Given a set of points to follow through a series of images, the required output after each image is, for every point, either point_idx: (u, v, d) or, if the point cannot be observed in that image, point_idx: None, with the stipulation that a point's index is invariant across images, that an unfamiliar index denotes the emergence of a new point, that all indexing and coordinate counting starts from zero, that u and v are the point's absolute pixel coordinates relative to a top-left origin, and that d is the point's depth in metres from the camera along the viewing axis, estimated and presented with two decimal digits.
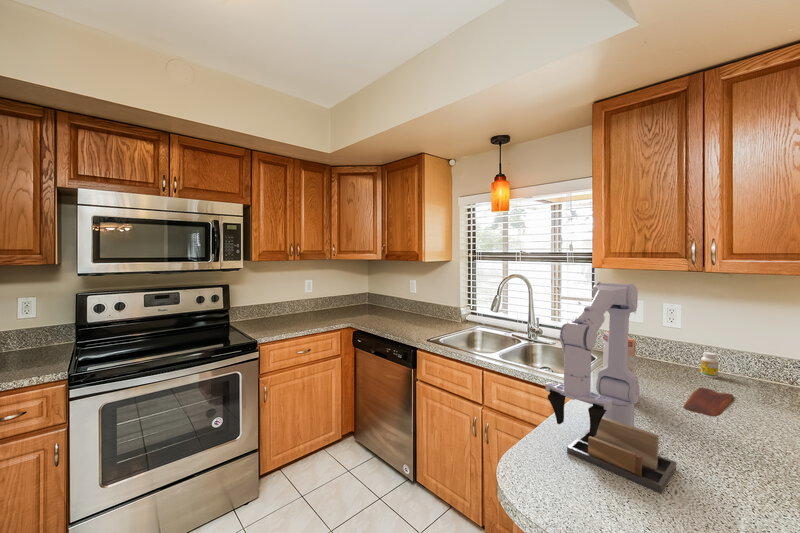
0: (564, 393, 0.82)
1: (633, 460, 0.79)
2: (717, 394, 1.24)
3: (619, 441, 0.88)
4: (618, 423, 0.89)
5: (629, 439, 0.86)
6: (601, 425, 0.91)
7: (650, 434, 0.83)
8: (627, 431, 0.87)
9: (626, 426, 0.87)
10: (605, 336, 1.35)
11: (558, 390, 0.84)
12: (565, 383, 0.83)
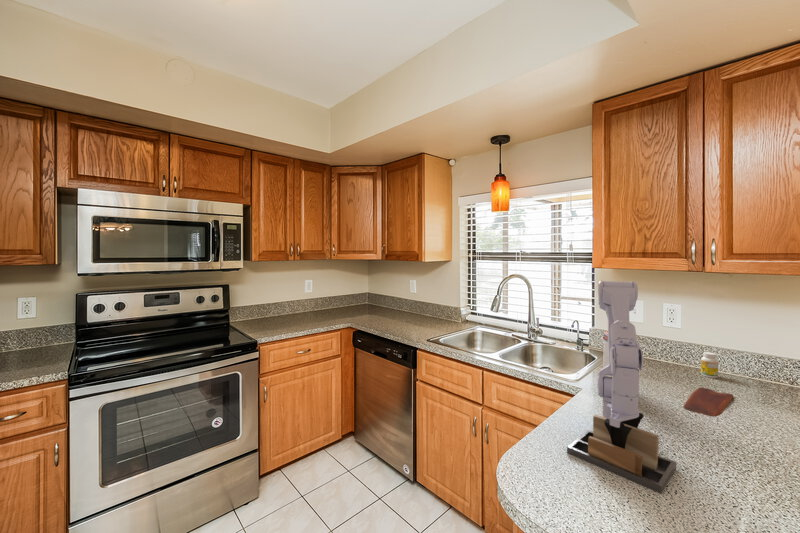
0: None
1: (633, 460, 0.79)
2: (717, 394, 1.24)
3: None
4: None
5: (629, 439, 0.86)
6: (601, 425, 0.91)
7: (650, 434, 0.83)
8: None
9: None
10: (605, 336, 1.35)
11: None
12: None
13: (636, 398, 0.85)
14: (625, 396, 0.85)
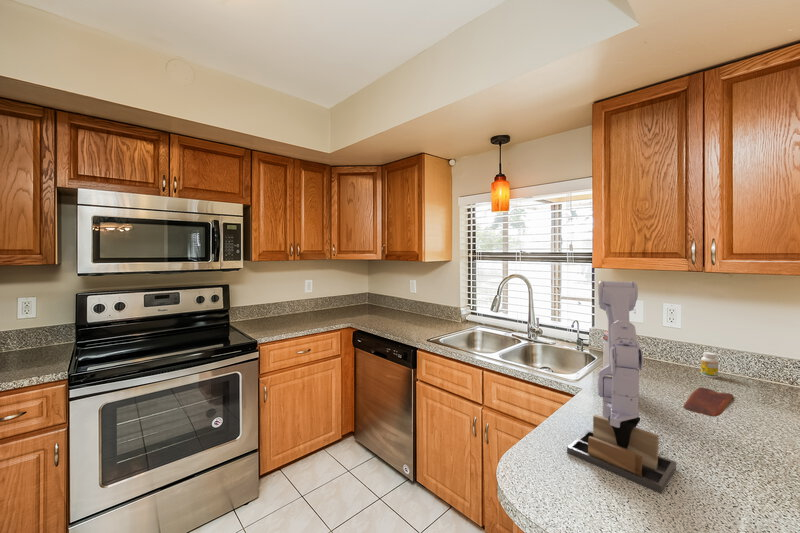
0: None
1: (633, 460, 0.79)
2: (717, 394, 1.24)
3: None
4: None
5: None
6: (601, 425, 0.91)
7: (650, 434, 0.83)
8: None
9: None
10: (605, 336, 1.35)
11: None
12: None
13: (636, 398, 0.85)
14: (625, 396, 0.85)
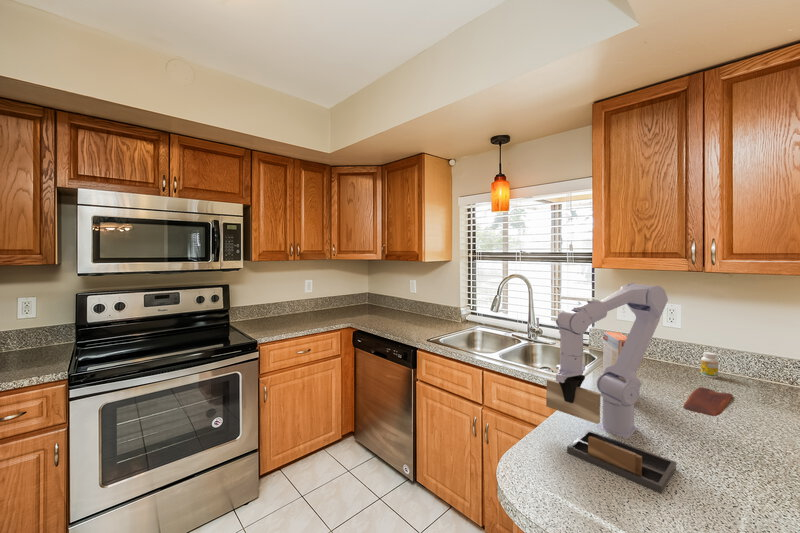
0: None
1: (633, 460, 0.79)
2: (717, 393, 1.24)
3: None
4: None
5: (576, 398, 0.96)
6: (553, 387, 1.00)
7: (594, 392, 0.93)
8: None
9: None
10: (605, 336, 1.35)
11: None
12: None
13: (580, 357, 0.95)
14: (570, 356, 0.95)
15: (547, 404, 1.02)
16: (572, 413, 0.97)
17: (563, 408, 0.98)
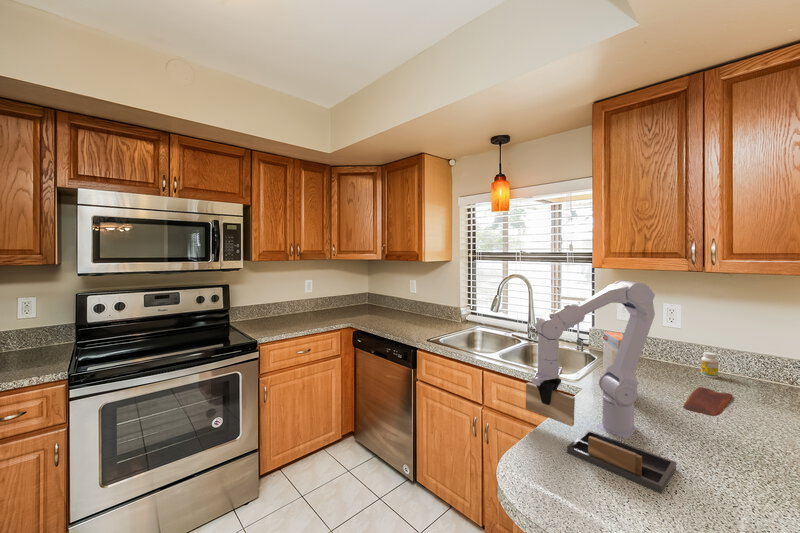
0: None
1: (633, 460, 0.79)
2: (716, 393, 1.24)
3: (545, 404, 1.03)
4: None
5: (552, 401, 1.01)
6: (532, 391, 1.06)
7: (568, 396, 0.98)
8: (551, 395, 1.01)
9: None
10: (605, 336, 1.35)
11: None
12: None
13: (555, 361, 1.00)
14: (546, 360, 1.00)
15: (526, 406, 1.07)
16: (549, 415, 1.02)
17: (541, 410, 1.04)
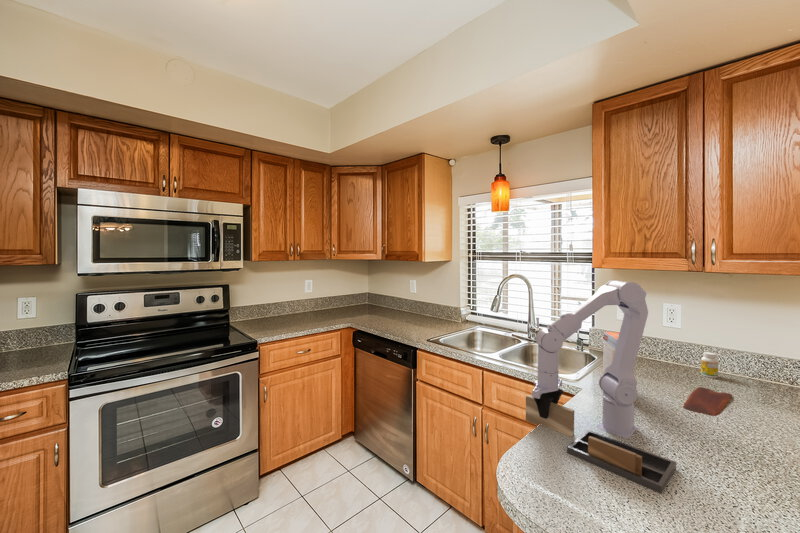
0: None
1: (633, 460, 0.79)
2: (716, 393, 1.25)
3: None
4: None
5: (552, 414, 1.01)
6: (531, 403, 1.06)
7: (568, 409, 0.98)
8: (550, 407, 1.01)
9: None
10: (605, 336, 1.35)
11: None
12: None
13: (555, 374, 1.00)
14: (546, 372, 1.00)
15: (526, 419, 1.07)
16: None
17: (541, 423, 1.04)
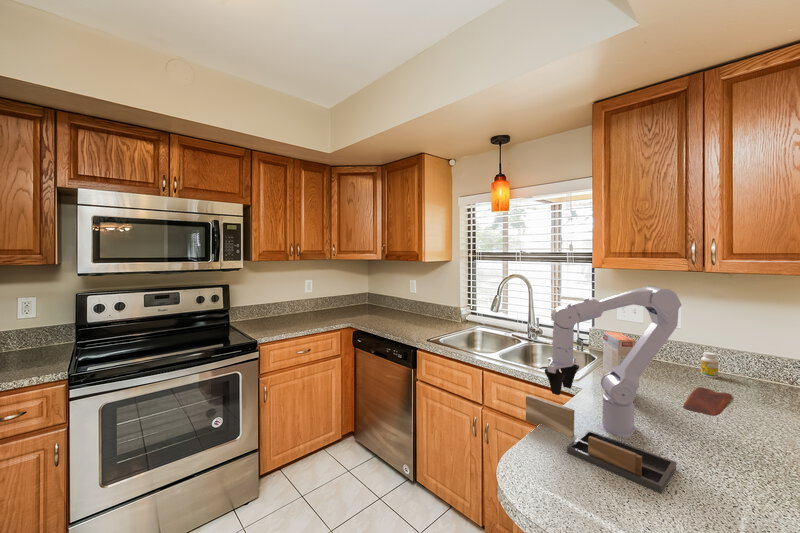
0: None
1: (633, 460, 0.79)
2: (716, 393, 1.25)
3: (544, 416, 1.03)
4: (544, 401, 1.03)
5: (552, 414, 1.01)
6: (531, 403, 1.06)
7: (568, 409, 0.98)
8: (550, 407, 1.01)
9: (550, 403, 1.02)
10: (605, 336, 1.35)
11: None
12: None
13: (570, 350, 1.02)
14: (561, 348, 1.02)
15: (526, 419, 1.07)
16: None
17: (541, 423, 1.04)
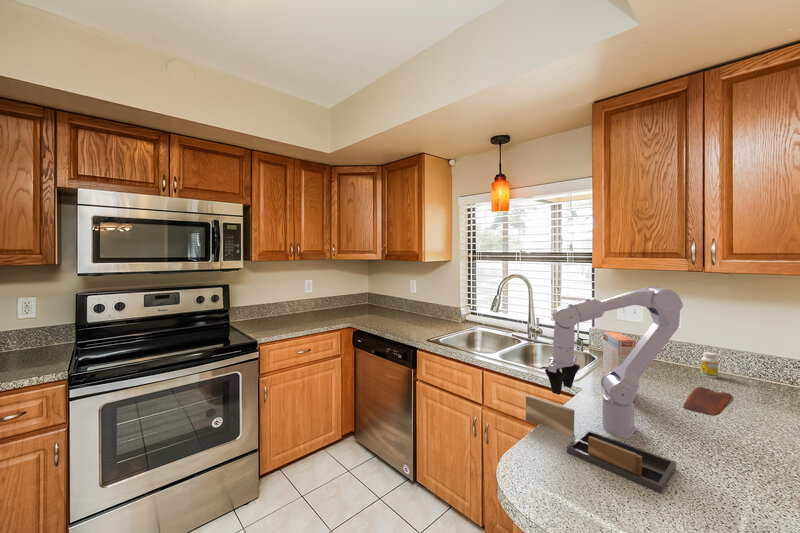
0: None
1: (633, 460, 0.79)
2: (715, 393, 1.25)
3: (544, 416, 1.03)
4: (544, 401, 1.03)
5: (552, 414, 1.01)
6: (531, 403, 1.06)
7: (568, 409, 0.98)
8: (550, 407, 1.01)
9: (550, 403, 1.02)
10: (605, 336, 1.35)
11: None
12: None
13: (571, 350, 1.02)
14: (562, 348, 1.02)
15: (526, 419, 1.07)
16: None
17: (541, 423, 1.04)
